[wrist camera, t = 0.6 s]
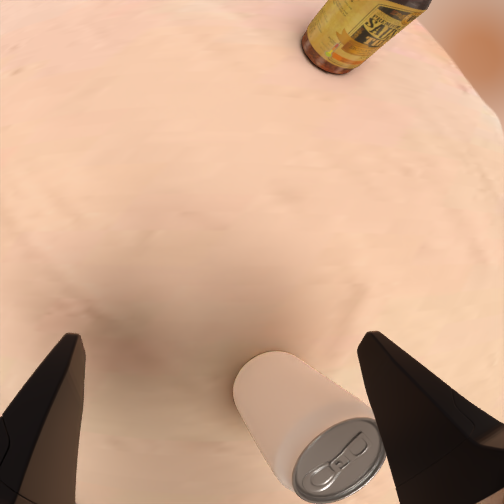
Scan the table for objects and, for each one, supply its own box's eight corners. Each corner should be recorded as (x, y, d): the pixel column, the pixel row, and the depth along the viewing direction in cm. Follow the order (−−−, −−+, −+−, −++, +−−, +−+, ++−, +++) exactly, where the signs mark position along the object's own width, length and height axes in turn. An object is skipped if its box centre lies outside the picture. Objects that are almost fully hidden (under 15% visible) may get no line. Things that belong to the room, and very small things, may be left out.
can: (214, 385, 23) (256, 476, 12) (278, 333, 25) (365, 384, 13) (263, 433, 24) (324, 523, 13) (320, 385, 26) (410, 448, 14)
